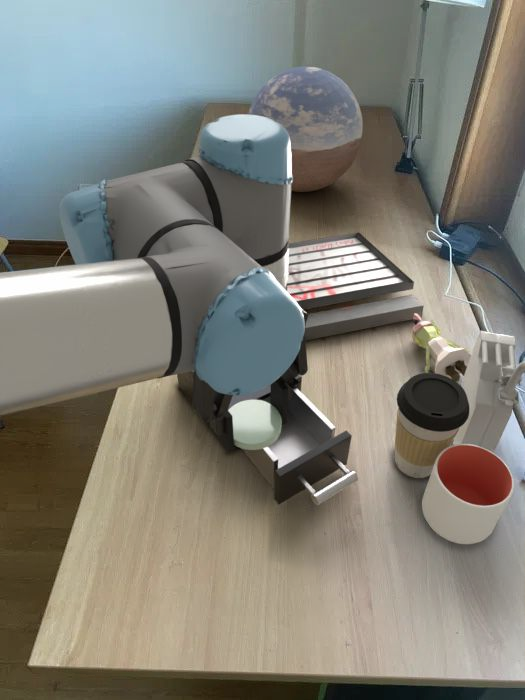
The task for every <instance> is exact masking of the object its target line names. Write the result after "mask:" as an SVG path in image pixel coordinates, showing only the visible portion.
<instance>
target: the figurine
mask: <svg viewBox="0 0 525 700" xmlns="http://www.w3.org/2000/svg"><path fill="white" fill-rule="evenodd" d="M412 320H413V321H412V322H413V324H414V326H413V327H412V331H409V333H410V334H411V339H412V341H413V342H415V343H417V344H418V347H419V348H423V349H425V362H426V363H425V364H426V366H425V367H424V373H431V372H430V366H431V358H432V360H433V361H434V362H435V365H434V373H436V374H441V375H444V376H447V377H449V378H451V379H453V380H454V381H456V382H457V383H458V382H459V381H460V379H461V376H462V377H464V374H465V371H466V369H467V366H468V363H469V360H470V357H471V354H470V350H469V349H467V348H466V347H462V346H460V345H458V344H457V343H455V342H454V341H451V340H449V339H446V338H444V337H441V330H440V329H439V328H438V326H437V325H436V324H435V322H434V320H433V319H431V320H430V321H431V322H430V321H429V320H424V321H423V320H422V317H420V316H419V315H418V314H416V313H415V314H414V317H413V319H412ZM439 335H440V336H439Z"/></svg>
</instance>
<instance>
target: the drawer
mask: <svg viewBox="0 0 525 700" xmlns="http://www.w3.org/2000/svg"><path fill="white" fill-rule="evenodd" d="M262 401H265V402H268V403H270V397H268V398H266V399H264V400H262ZM335 433H336V426H335V425H334V424H333V423H332V421H330V420H329V419H328V418H327V417H326V416H325V414H323V413H322V412H321V411H320V410H319V409H318V408H317V407H316V406H315V405H314V404H313V403H312V401H310V400H309V398H307V397H306V396H305V395H304V393H302V391H301V392H300V391H299V390H298V389H297V388H295V389H293V390H292V397H291V399H290V400H288V411H287V423H286V424H284V425H282V429H281V433H280V435H279V437H278V439H277V440H276V441H275V442H274V443H273V444H271V445H270V446H268V447H266V448H263V449H258V450H246V449H242V448H240V449H241V450H242V452H243V453H244V454H245V455H246V456H247V458H248V459H249V460H250V461H251V463H252V464H253V465H254V467H256V469H257V470H258V471H259V473H260V474H261V475H262V476H263V478H264V479H265V480H266V481H267V482H268V484H269V485H270V486H271V487H272V488H274V489H273V490H274V491H273V500H274V501H275V502H276V504H277V505H278V506H280V505H282V504H284V503H285V502H287V501H288V500H290V499H292V498H294V497H295V496H297V495H298V494H300V493H301V492H303V491H305V490H306V491H307V492H308V493H309V495H310V497H311V500H312V502H313V504H314V505H315V506H319V505H321V504H323V503H324V502H326V501H327V500H329V499H330V498H333V496H335V495H337V494H339V493H340V492H342V491H343V490H345V489H346V488H348V487H350V486H352V485H354V484H355V483H356V482H357V481H358V480H359V478H358V475H357V473H356V472H355V471H354V470H349V469H348V468H347V467H346V465H347V464H348V459H349V453H350V448H351V441H352V436H353V435H352V434H351V433H350V432H349V431H348V430H344V431H342V432H340V433H339V434H336V435H335ZM339 470H340V471H341V472H342V473H343V475H341V476H340V477H338V478H336V479H335V480H333V481H332V482H330V483H328V484H326V485H325V486H323V487H321V488H320V489H319V490H317V491H316V490H315V489H314V487H312V486H313V485H315V484H316V483H318V482H320V481H321V480H323V479H325V478H327V477H328V476H330V475H331V474H333V473H335V472H337V471H339Z"/></svg>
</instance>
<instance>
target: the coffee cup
mask: <svg viewBox="0 0 525 700" xmlns="http://www.w3.org/2000/svg"><path fill="white" fill-rule="evenodd" d="M396 404H397V407H398V408H397V412H396V422H395V423H396V424H395V437H394V446H395V452H394V462H395V465H396V467H397V468H398V469H399V471H400V472H401V473H403V474H404V475H406V476H408V477H411V478H416V479H424V478H427V477H430V475H431V472H432V470H433V467H434V464H435V461H436V458H437V457H438V455H439V454H440V453H441V452H442V451H443V450H444V449H446V448H448V447H450V446H451V444H453V439H454V437H455V436H456V434H457V432H458V431H459V428H460V427H461V426H462V425H463V424H464V423H465V422H466V421H467V419H468V416H469V407H470V406H469V402H468V399H467V395H466V393H465V391H464V389H463V388H462V387H461V384H459V382H458V381H457V382H456V381H454V380H453V379H451V378H449V377H447V376H444V375H441V374H436V373H435V372H430V373H425V372H422V373H418V374H415V375H413V376H411V377H410V378H409V379H408V380H407V381H406V382H404V383H403V384H402V385H401V387H400V388H399V390H398V392H397V394H396Z"/></svg>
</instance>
